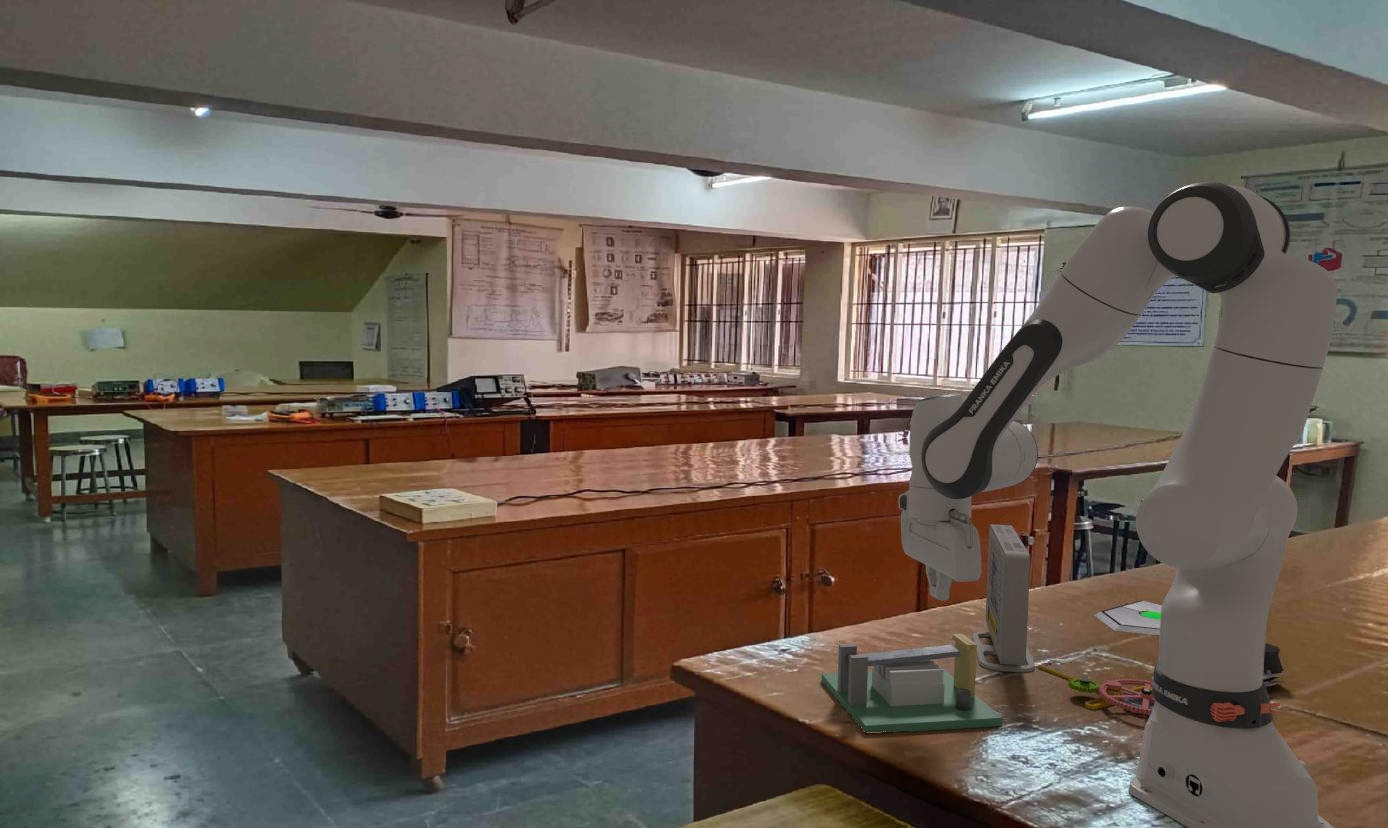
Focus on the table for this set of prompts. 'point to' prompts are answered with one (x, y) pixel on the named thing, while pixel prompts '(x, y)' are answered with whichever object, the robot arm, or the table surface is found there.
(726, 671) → the table surface
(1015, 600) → the network device
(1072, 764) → the table surface
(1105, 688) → the mechanical gear assembly
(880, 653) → the strap
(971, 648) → the board
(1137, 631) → the security device
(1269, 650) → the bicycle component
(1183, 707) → the robot arm
